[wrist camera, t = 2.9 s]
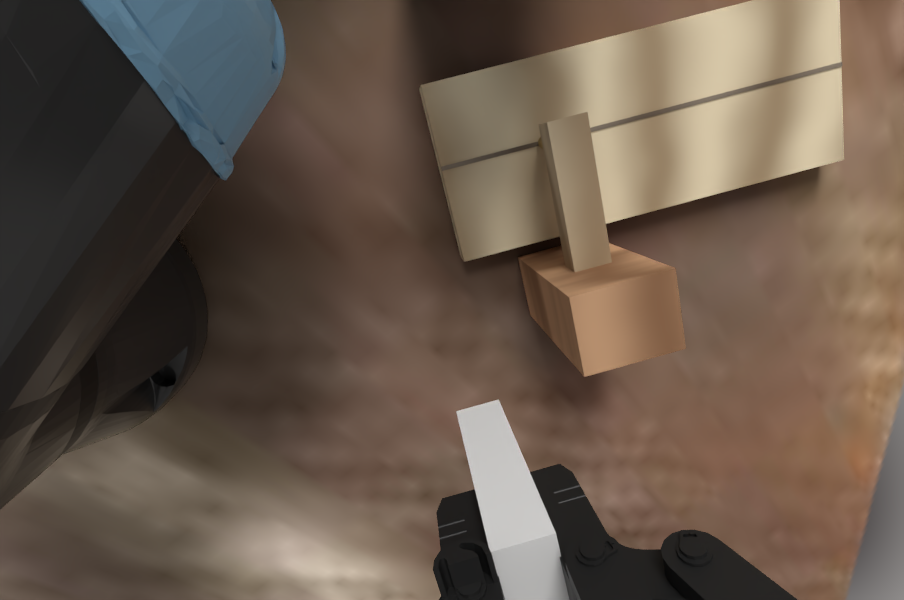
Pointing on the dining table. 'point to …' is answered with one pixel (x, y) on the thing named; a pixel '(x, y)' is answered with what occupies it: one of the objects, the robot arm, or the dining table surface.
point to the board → (642, 117)
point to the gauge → (595, 270)
